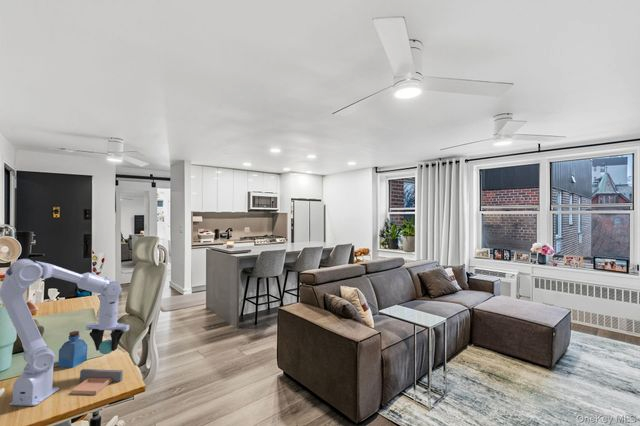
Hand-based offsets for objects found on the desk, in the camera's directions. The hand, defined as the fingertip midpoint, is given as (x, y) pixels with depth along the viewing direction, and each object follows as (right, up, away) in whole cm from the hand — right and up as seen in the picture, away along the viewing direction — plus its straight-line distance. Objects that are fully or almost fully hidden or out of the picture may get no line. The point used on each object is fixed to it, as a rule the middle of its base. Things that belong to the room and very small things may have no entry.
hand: (106, 349), depth 117 cm
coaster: (+1, -9, -9) cm, 13 cm away
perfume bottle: (-18, -8, +7) cm, 21 cm away
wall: (+1, -9, -5) cm, 10 cm away
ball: (0, -2, 0) cm, 2 cm away
